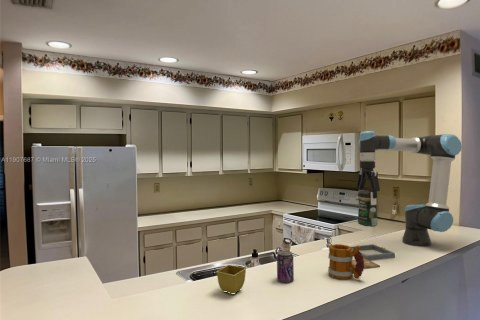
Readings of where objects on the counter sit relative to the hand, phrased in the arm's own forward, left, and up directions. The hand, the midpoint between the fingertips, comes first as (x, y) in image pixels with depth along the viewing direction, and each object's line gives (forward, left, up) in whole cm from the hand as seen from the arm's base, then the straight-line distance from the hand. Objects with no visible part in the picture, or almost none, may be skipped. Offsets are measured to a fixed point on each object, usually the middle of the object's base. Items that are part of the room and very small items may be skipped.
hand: (367, 203), depth 169 cm
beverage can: (+54, +18, -28) cm, 63 cm away
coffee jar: (0, 0, -12) cm, 12 cm away
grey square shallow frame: (-3, -2, -28) cm, 28 cm away
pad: (+10, +10, -28) cm, 32 cm away
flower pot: (+79, +23, -28) cm, 87 cm away
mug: (+27, +22, -28) cm, 45 cm away
